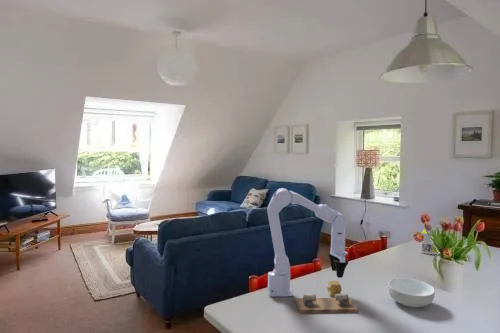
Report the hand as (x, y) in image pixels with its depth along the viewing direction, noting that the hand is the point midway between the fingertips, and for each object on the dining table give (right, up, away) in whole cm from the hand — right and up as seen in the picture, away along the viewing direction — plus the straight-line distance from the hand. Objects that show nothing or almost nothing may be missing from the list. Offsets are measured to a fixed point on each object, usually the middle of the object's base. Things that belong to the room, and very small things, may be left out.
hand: (337, 273), depth 148 cm
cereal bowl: (+27, -10, -8) cm, 30 cm away
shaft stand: (-7, -9, -11) cm, 16 cm away
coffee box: (+71, -6, +60) cm, 93 cm away
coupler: (-1, -9, 0) cm, 9 cm away
